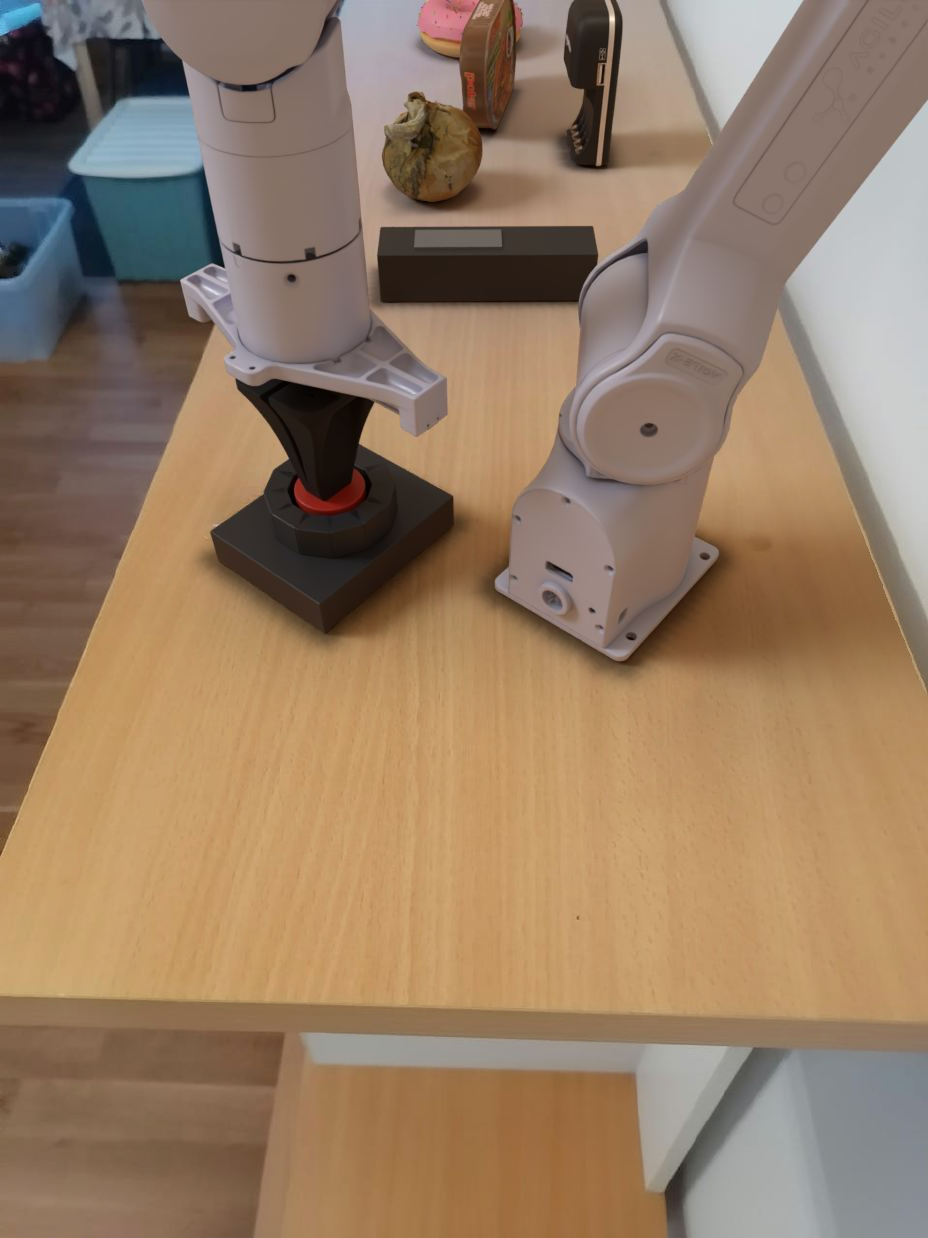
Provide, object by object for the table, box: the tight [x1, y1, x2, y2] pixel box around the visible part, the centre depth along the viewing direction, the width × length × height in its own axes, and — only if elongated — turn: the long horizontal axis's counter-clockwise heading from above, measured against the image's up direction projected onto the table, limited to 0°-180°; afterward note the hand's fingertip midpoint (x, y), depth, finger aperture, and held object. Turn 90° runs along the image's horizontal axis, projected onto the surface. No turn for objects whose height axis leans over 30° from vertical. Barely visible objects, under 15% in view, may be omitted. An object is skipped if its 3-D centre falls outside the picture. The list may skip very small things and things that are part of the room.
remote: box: [376, 225, 599, 303], centre depth 67 cm, size 15×4×4 cm, turn 90°
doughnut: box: [416, 0, 524, 59], centre depth 98 cm, size 11×11×4 cm
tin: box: [458, 0, 517, 130], centre depth 85 cm, size 15×3×8 cm, turn 168°
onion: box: [381, 90, 483, 203], centre depth 75 cm, size 8×8×8 cm
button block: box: [209, 443, 455, 634], centre depth 50 cm, size 10×8×4 cm
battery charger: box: [563, 0, 624, 167], centre depth 78 cm, size 7×4×11 cm, turn 2°
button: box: [294, 469, 367, 516], centre depth 49 cm, size 4×4×2 cm
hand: (329, 486), depth 48 cm, fingers closed, pressing on button
